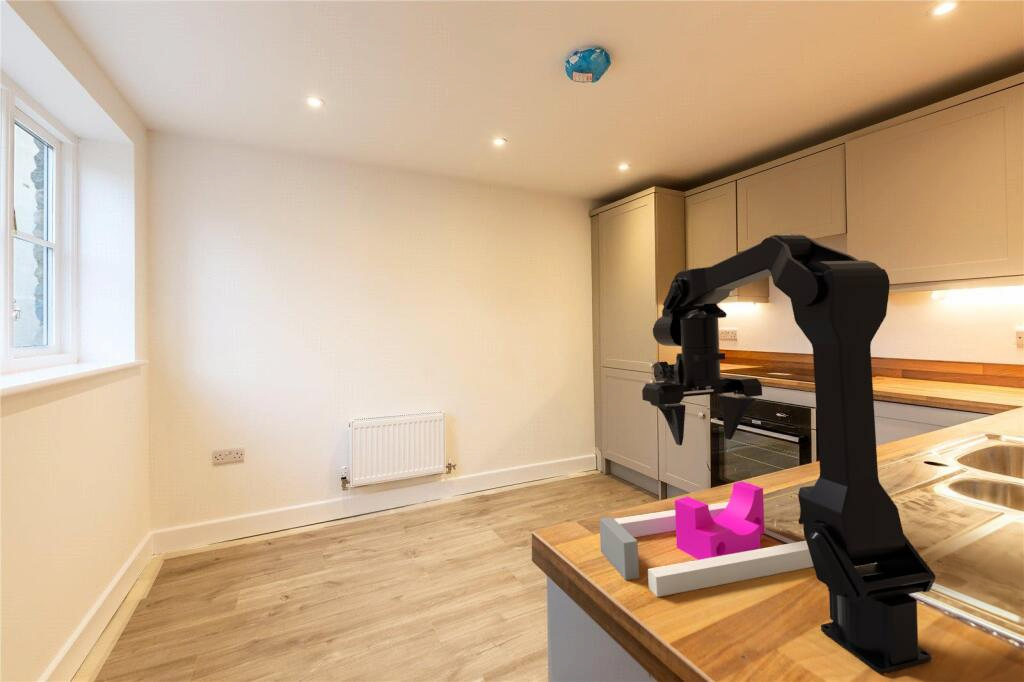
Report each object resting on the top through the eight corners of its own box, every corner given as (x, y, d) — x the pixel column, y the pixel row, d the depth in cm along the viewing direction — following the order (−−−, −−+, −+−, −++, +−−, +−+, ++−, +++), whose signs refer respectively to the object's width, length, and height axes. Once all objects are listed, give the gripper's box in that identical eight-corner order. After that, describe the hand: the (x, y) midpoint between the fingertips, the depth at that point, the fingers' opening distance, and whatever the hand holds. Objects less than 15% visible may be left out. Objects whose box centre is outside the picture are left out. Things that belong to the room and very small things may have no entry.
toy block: (711, 568, 61) (709, 514, 61) (676, 549, 66) (674, 500, 66) (780, 541, 67) (778, 492, 67) (743, 525, 73) (741, 481, 73)
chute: (825, 564, 60) (824, 528, 60) (642, 599, 54) (640, 560, 54) (736, 514, 77) (735, 486, 77) (589, 537, 71) (587, 507, 71)
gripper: (716, 343, 82) (719, 427, 82) (624, 349, 77) (628, 436, 78) (763, 344, 71) (766, 440, 71) (659, 350, 67) (663, 452, 67)
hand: (703, 442), depth 72 cm, fingers open, 9 cm apart
